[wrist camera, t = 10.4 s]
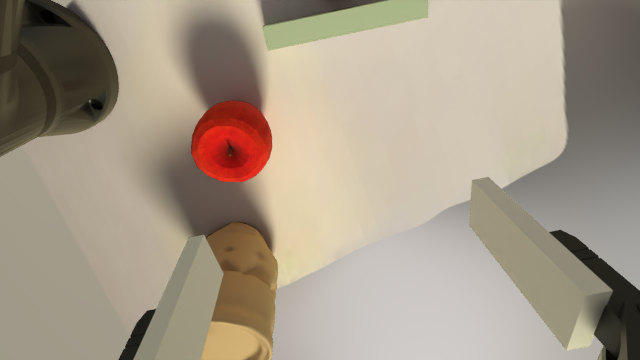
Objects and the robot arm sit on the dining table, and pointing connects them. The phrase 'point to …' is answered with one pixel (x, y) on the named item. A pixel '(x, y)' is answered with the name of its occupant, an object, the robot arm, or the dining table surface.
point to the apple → (232, 142)
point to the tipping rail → (343, 22)
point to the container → (242, 296)
